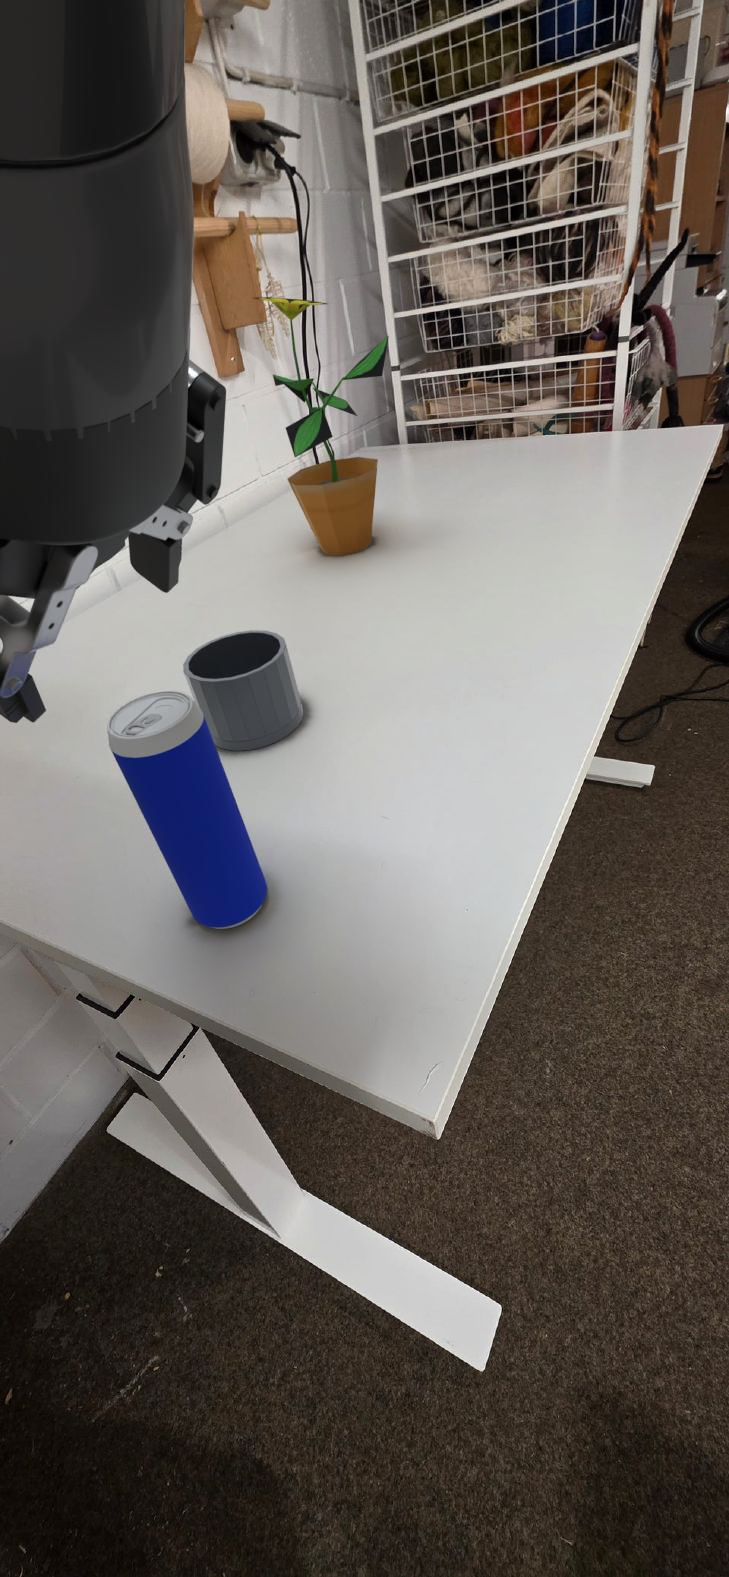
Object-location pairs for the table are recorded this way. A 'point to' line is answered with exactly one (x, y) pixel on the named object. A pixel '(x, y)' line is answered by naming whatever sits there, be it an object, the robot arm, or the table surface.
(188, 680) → the grey pen holder cup
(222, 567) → the table surface
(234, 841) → the beverage can
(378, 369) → the potted plant
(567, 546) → the table surface
